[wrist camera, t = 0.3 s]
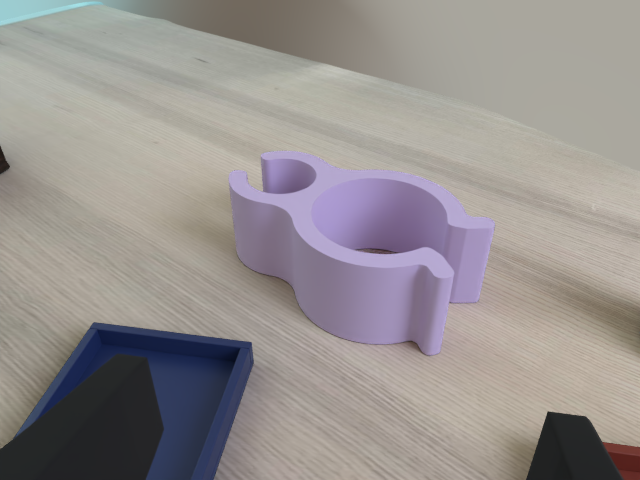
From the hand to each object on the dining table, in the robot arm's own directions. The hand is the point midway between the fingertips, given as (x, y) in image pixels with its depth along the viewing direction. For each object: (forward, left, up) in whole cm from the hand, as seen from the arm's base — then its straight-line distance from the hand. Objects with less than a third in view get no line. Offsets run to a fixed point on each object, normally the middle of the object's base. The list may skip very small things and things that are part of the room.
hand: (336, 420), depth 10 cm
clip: (+29, +3, -21) cm, 36 cm away
